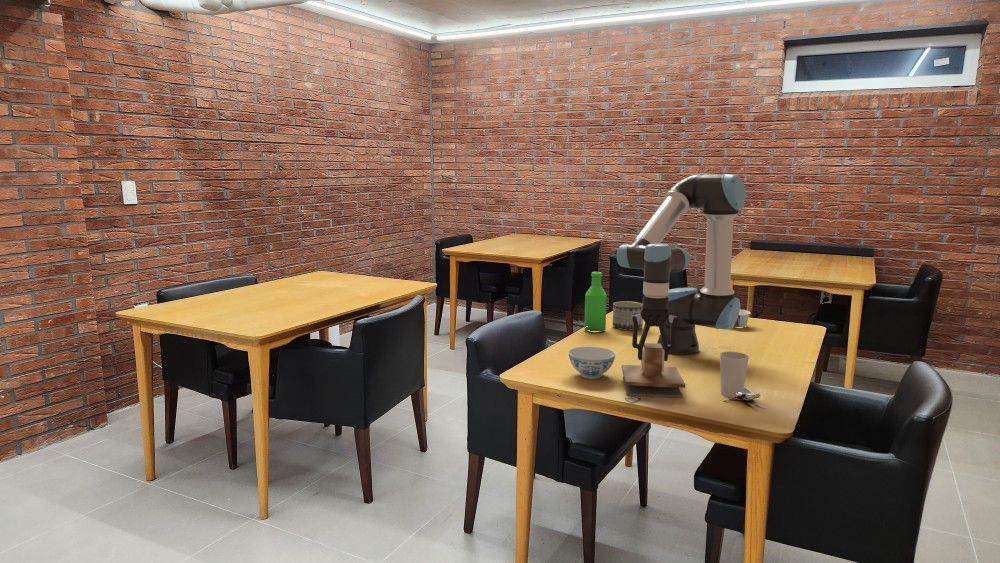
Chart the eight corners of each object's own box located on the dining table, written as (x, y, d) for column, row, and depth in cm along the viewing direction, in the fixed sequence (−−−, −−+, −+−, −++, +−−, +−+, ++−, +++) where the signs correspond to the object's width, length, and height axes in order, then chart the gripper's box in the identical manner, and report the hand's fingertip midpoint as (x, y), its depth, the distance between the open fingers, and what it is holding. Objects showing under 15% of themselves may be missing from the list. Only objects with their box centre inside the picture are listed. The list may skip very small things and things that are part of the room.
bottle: (582, 332, 255) (583, 272, 251) (587, 327, 263) (588, 270, 259) (603, 334, 252) (604, 274, 248) (607, 329, 260) (609, 271, 256)
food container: (754, 329, 261) (755, 314, 260) (725, 329, 261) (726, 314, 260) (743, 323, 273) (744, 308, 272) (716, 322, 273) (717, 308, 272)
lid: (675, 370, 194) (677, 339, 192) (685, 387, 177) (687, 354, 176) (621, 367, 196) (622, 337, 194) (625, 385, 179) (627, 352, 178)
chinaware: (603, 386, 188) (604, 362, 187) (559, 377, 196) (560, 354, 195) (621, 373, 201) (622, 350, 199) (579, 366, 209) (580, 344, 207)
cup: (712, 389, 185) (715, 351, 183) (738, 389, 186) (741, 351, 184) (724, 399, 177) (727, 359, 175) (751, 398, 178) (754, 358, 176)
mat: (674, 380, 194) (674, 378, 194) (682, 397, 179) (682, 395, 178) (622, 377, 196) (622, 376, 196) (627, 395, 180) (627, 393, 180)
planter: (611, 324, 270) (612, 300, 268) (641, 325, 268) (642, 301, 267) (613, 330, 258) (613, 306, 256) (643, 332, 256) (644, 307, 254)
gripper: (684, 294, 185) (680, 368, 189) (623, 292, 187) (621, 365, 191) (688, 298, 178) (684, 375, 182) (625, 297, 180) (622, 373, 184)
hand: (652, 370), depth 186 cm, fingers closed on lid, 5 cm apart
